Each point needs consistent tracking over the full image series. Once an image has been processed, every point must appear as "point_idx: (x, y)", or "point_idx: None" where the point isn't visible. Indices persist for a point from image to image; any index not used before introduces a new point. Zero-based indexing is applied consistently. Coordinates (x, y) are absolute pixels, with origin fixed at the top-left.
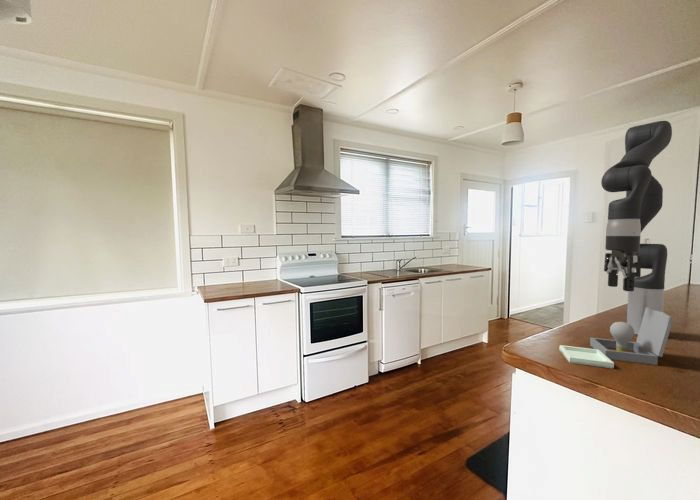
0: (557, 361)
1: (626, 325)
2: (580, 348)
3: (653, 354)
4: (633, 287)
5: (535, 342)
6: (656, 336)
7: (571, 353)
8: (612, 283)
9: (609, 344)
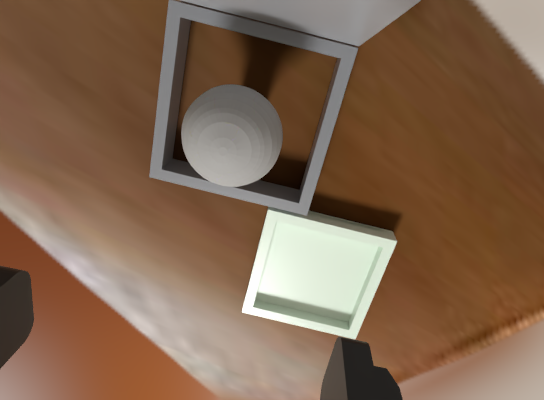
0: None
1: (256, 148)
2: (264, 263)
3: (335, 48)
4: (399, 394)
5: (183, 334)
6: (315, 17)
7: (290, 295)
8: (4, 330)
9: (174, 110)
